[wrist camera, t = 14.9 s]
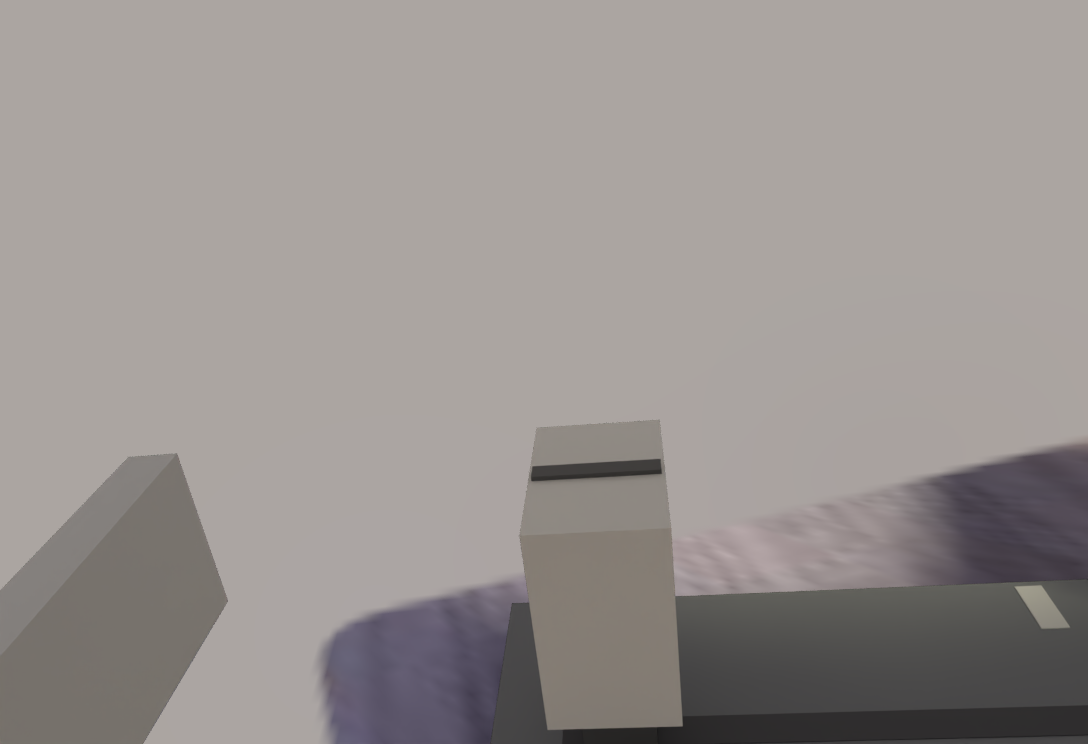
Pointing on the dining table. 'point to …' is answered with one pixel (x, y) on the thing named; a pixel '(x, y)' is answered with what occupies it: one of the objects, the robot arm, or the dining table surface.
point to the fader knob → (602, 581)
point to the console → (855, 668)
